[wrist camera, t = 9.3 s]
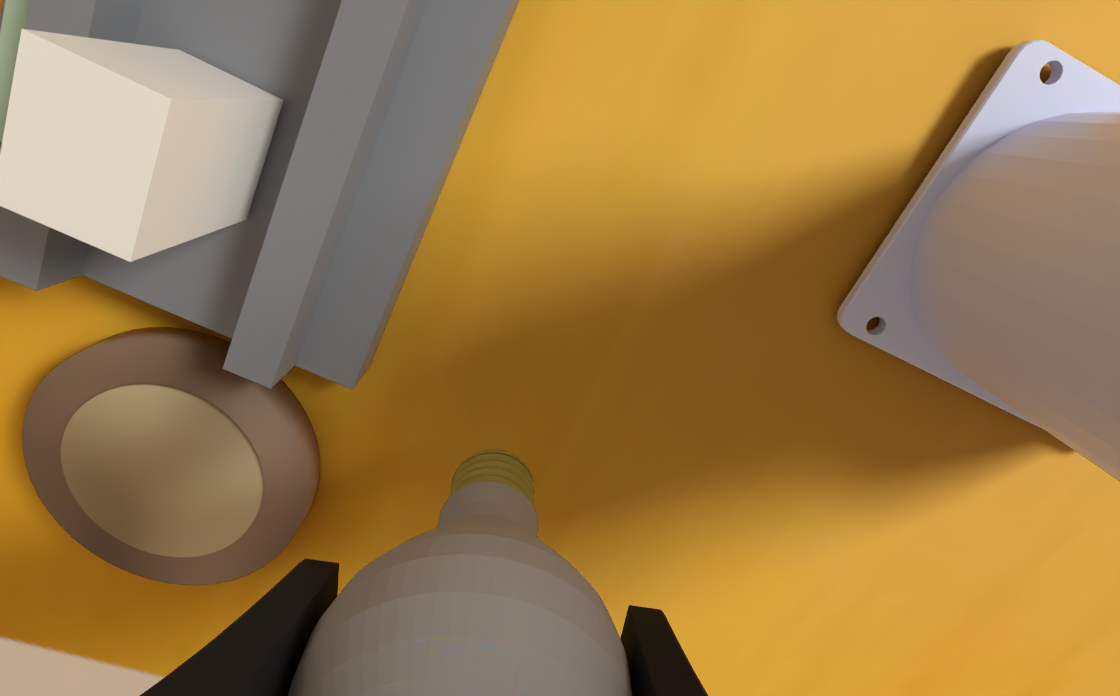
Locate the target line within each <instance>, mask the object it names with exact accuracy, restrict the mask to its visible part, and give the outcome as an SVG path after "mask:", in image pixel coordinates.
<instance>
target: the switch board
mask: <svg viewBox="0 0 1120 696" xmlns="http://www.w3.org/2000/svg"><path fill="white" fill-rule="evenodd" d="M518 2H519V0H3V4H2V10H1V16H0V152H1V146H2V140H3V134H4V128H5V123H6V117H7V111H8V105H9V99H10V93H11V88H12V82H13V76H14V70H15V64H16V58H17V53H18V47H19V41H20V35H21V29H28V30H36V31H43V32H50V33H58V34H65V35H73V36H80V37H88V38H95V39H102V40H110V41H117V42H125V43H132V44H140V45H147V46H154V47H162V48H169V49H177V50H181V51H183V52H185V53H187V54H189V55H191V56H193V57H195V58H198V59H200V60H202V61H204V62H206V63H208V64H210V65H212V66H214V67H216V68H218V69H220V70H222V71H224V72H226V73H229V74H231V75H233V76H235V77H237V78H239V79H241V80H243V81H245V82H247V83H249V84H251V85H253V86H255V87H258V88H260V89H262V90H264V91H266V92H268V93H270V94H272V95H274V96H276V97H278V98H280V99H282V100H284V101H283V104H282V107H281V110H280V113H279V117H278V120H277V123H276V126H275V130H274V133H273V136H272V139H271V142H270V146H269V149H268V152H267V155H266V158H265V162H264V165H263V168H262V171H261V175H260V178H259V181H258V184H257V187H256V191H255V194H254V197H253V200H252V204H251V207H250V210H249V213H248V216H247V220H244V221H241V222H238V223H236V224H233V225H230V226H228V227H225V228H222V229H219V230H217V231H214V232H211V233H208V234H206V235H203V236H200V237H197V238H195V239H192V240H189V241H187V242H184V243H181V244H178V245H176V246H173V247H170V248H167V249H165V250H162V251H159V252H156V253H154V254H151V255H148V256H146V257H143V258H140V259H137V260H135V261H132V262H129V261H127V260H124V259H122V258H120V257H117V256H115V255H113V254H110V253H108V252H106V251H104V250H101V249H99V248H97V247H94V246H92V245H90V244H87V243H85V242H83V241H80V240H78V239H76V238H73V237H71V236H69V235H66V234H64V233H62V232H59V231H57V230H55V229H53V228H50V227H48V226H46V225H43V224H41V223H39V222H36V221H34V220H32V219H29V218H27V217H25V216H22V215H20V214H18V213H15V212H13V211H11V210H8V209H6V208H4V207H2V206H0V276H1V277H4V278H6V279H9V280H11V281H13V282H16V283H18V284H21V285H23V286H25V287H28V288H30V289H33V290H35V291H38V290H41V289H43V288H46V287H49V286H52V285H55V284H57V283H60V282H63V281H66V280H69V279H71V278H74V277H77V276H80V275H83V276H85V277H88V278H90V279H92V280H95V281H97V282H99V283H102V284H104V285H106V286H109V287H111V288H114V289H116V290H118V291H121V292H123V293H125V294H128V295H130V296H132V297H135V298H137V299H139V300H142V301H144V302H147V303H149V304H151V305H154V306H156V307H158V308H161V309H163V310H165V311H168V312H170V313H172V314H175V315H177V316H180V317H182V318H184V319H187V320H189V321H191V322H194V323H196V324H198V325H201V326H203V327H205V328H208V329H210V330H213V331H215V332H217V333H220V334H222V335H224V336H227V337H229V338H231V339H232V341H231V344H230V347H229V350H228V353H227V356H226V360H225V363H224V366H223V369H225V370H227V371H230V372H232V373H234V374H237V375H239V376H242V377H244V378H246V379H249V380H251V381H254V382H256V383H258V384H261V385H263V386H266V387H268V388H270V389H271V388H272V387H273V386H274V385H275V384H276V383H277V382H278V381H279V380H280V379H281V378H282V377H283V376H284V375H286V374H287V373H288V372H289V371H290V370H291V369H292V368H293V367H294V366H297V367H300V368H302V369H305V370H307V371H309V372H312V373H314V374H316V375H319V376H321V377H323V378H326V379H328V380H330V381H333V382H335V383H338V384H340V385H342V386H345V387H347V388H349V389H353V388H354V387H355V385H356V384H357V383H358V381H359V380H360V379H361V377H362V376H363V375H364V373H365V372H366V371H367V369H368V368H369V365H370V363H371V361H372V358H373V356H374V353H375V351H376V348H377V346H378V343H379V341H380V339H381V336H382V334H383V331H384V329H385V326H386V324H387V322H388V319H389V317H390V314H391V312H392V309H393V307H394V304H395V302H396V300H397V297H398V295H399V292H400V290H401V287H402V285H403V282H404V280H405V278H406V275H407V273H408V270H409V268H410V265H411V263H412V260H413V258H414V256H415V253H416V251H417V248H418V246H419V243H420V241H421V239H422V236H423V234H424V231H425V229H426V226H427V224H428V221H429V219H430V217H431V214H432V212H433V209H434V207H435V204H436V202H437V199H438V197H439V195H440V192H441V190H442V187H443V185H444V182H445V180H446V177H447V175H448V173H449V170H450V168H451V165H452V163H453V160H454V158H455V155H456V153H457V151H458V148H459V146H460V143H461V141H462V138H463V136H464V134H465V131H466V129H467V126H468V124H469V121H470V119H471V116H472V114H473V112H474V109H475V107H476V104H477V102H478V99H479V97H480V94H481V92H482V90H483V87H484V85H485V82H486V80H487V77H488V75H489V72H490V70H491V68H492V65H493V63H494V60H495V58H496V55H497V53H498V51H499V48H500V46H501V43H502V41H503V38H504V36H505V33H506V31H507V29H508V26H509V24H510V21H511V19H512V16H513V14H514V11H515V9H516V7H517V4H518Z"/></svg>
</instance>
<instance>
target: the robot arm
mask: <svg viewBox="0 0 1120 696" xmlns="http://www.w3.org/2000/svg"><path fill="white" fill-rule="evenodd" d="M1046 63H1048V64H1049V65H1050V66H1051V74H1050V77H1049V79H1048V80H1047V81H1046V82H1045V83H1042V81H1041V80H1040V71H1041V69H1042V67H1043V66H1044V65H1045V64H1046ZM874 317H879V320H880V321H879V324H878V326H877V327H876V328H875V329H873V330H870V331H868V330H867V329H866V325H867V323H868V321H869V320H870V319H872V318H874ZM837 321H838V323H839V325H840V327H842V328H843V329H844V330H845V331H847V332H848V333H849V334H851V335H853V336H855V337H857V338H859V339H861V340H863V341H865V342H867V343H869V344H871V345H873V346H875V347H877V348H879V349H881V350H883V351H885V352H887V353H889V354H892V355H894V356H896V357H898V358H900V359H902V360H904V361H906V362H908V363H910V364H912V365H914V366H916V367H918V368H920V369H922V370H924V371H926V372H928V373H930V374H932V375H934V376H936V377H938V378H940V379H942V380H944V381H946V382H948V383H950V384H952V385H954V386H956V387H958V388H960V389H962V390H964V391H966V392H968V393H971V394H973V395H975V396H977V397H979V398H981V399H983V400H985V401H987V402H989V403H991V404H993V405H995V406H997V407H999V408H1001V409H1003V410H1005V411H1007V412H1009V413H1011V414H1013V415H1015V416H1017V417H1019V418H1021V419H1023V420H1025V421H1027V422H1029V423H1031V424H1033V425H1035V426H1037V427H1039V428H1041V429H1043V430H1045V431H1047V432H1048V433H1050V434H1051V435H1053V436H1054V437H1056V438H1057V439H1058V440H1060V441H1061V442H1063V443H1064V444H1066V445H1067V446H1069V447H1070V448H1072V449H1073V450H1074V451H1076V452H1077V453H1079V454H1080V455H1082V456H1083V457H1085V458H1086V459H1088V460H1089V461H1090V462H1092V463H1093V464H1095V465H1096V466H1098V467H1099V468H1101V469H1102V470H1104V471H1105V472H1106V473H1108V474H1109V475H1111V476H1112V477H1114V478H1115V479H1117V480H1118V481H1120V85H1118V84H1117V83H1115V82H1114V81H1112V80H1110V79H1109V78H1107V77H1105V76H1104V75H1102V74H1100V73H1099V72H1097V71H1095V70H1094V69H1092V68H1090V67H1089V66H1087V65H1085V64H1084V63H1082V62H1080V61H1079V60H1077V59H1075V58H1074V57H1072V56H1070V55H1069V54H1067V53H1065V52H1064V51H1062V50H1060V49H1059V48H1057V47H1055V46H1054V45H1052V44H1050V43H1049V42H1047V41H1043V40H1040V39H1039V40H1031V41H1025V42H1021V43H1020V44H1018V45H1016V46H1014V47H1013V48H1012V50H1011V51H1010V52H1009V53H1008V54H1007V56H1006V57H1005V59H1004V60H1003V62H1002V63H1001V65H1000V66H999V68H998V69H997V71H996V72H995V74H994V75H993V77H992V78H991V80H990V81H989V83H988V84H987V86H986V87H985V89H984V90H983V92H982V93H981V95H980V96H979V98H978V99H977V101H976V102H975V104H974V105H973V107H972V108H971V110H970V111H969V113H968V114H967V116H966V117H965V119H964V120H963V122H962V123H961V125H960V126H959V128H958V130H957V131H956V133H955V134H954V136H953V137H952V139H951V140H950V142H949V143H948V145H947V146H946V148H945V149H944V151H943V152H942V154H941V155H940V157H939V158H938V160H937V161H936V163H935V164H934V166H933V167H932V169H931V170H930V172H929V173H928V175H927V176H926V178H925V179H924V181H923V182H922V184H921V185H920V187H919V188H918V190H917V191H916V193H915V194H914V196H913V197H912V199H911V200H910V202H909V203H908V205H907V206H906V208H905V209H904V211H903V212H902V214H901V215H900V217H899V218H898V220H897V222H896V223H895V225H894V226H893V228H892V229H891V231H890V232H889V234H888V235H887V237H886V238H885V240H884V241H883V243H882V244H881V246H880V247H879V249H878V250H877V252H876V253H875V255H874V256H873V258H872V259H871V261H870V262H869V264H868V265H867V267H866V268H865V270H864V271H863V273H862V274H861V276H860V277H859V279H858V280H857V282H856V283H855V285H854V286H853V288H852V289H851V291H850V292H849V294H848V295H847V297H846V298H845V300H844V301H843V303H842V304H841V306H840V308H839V310H838V313H837ZM338 572H339V563H332V562H325V561H319V560H312V559H305V560H303V561H302V562H300V563H299V564H298V565H297V566H296V567H295V568H293V569H292V570H291V571H290V572H289V573H288V574H287V575H286V576H285V577H284V578H283V579H282V580H281V581H280V582H279V583H277V584H276V585H275V586H274V587H273V588H272V589H271V590H270V591H269V592H268V593H267V594H265V595H264V596H263V597H262V598H261V599H260V600H259V601H258V602H256V603H255V604H254V605H253V606H252V607H251V608H250V609H249V610H248V611H246V612H245V613H244V614H243V615H242V616H240V617H239V618H238V619H237V620H236V621H235V622H233V623H232V624H231V625H230V626H229V627H228V628H226V629H225V630H224V631H223V632H222V633H220V634H219V635H218V636H217V637H216V638H215V639H213V640H212V641H211V642H210V643H208V644H207V645H206V646H205V647H203V648H202V649H201V650H200V651H198V652H197V653H196V654H194V655H193V656H192V657H191V658H189V659H188V660H187V661H185V662H184V663H183V664H182V665H180V666H179V667H178V668H176V669H175V670H174V671H173V672H171V673H170V674H169V675H167V676H166V677H165V678H163V679H162V680H161V681H159V682H158V683H157V684H155V685H154V686H153V687H151V688H150V689H149V690H147V691H146V692H144V693H143V694H141V695H140V696H287V695H288V692H289V689H290V685H291V682H292V680H293V677H294V675H295V672H296V670H297V667H298V665H299V662H300V660H301V657H302V654H303V652H304V649H305V647H306V644H307V642H308V640H309V637H310V635H311V633H312V631H313V629H314V627H315V626H316V624H317V622H318V621H319V619H320V618H321V616H322V615H323V614H324V613H325V611H326V610H327V609H328V608H329V606H330V605H331V604H332V603H333V601H334V600H335V599H336V598H337V590H338ZM621 642H622V644H623V647H624V649H625V652H626V656H627V660H628V664H629V672H630V680H631V689H632V696H708V694H707V693H706V691H705V689H704V688H703V686H702V684H701V682H700V681H699V679H698V677H697V675H696V674H695V672H694V670H693V668H692V666H691V664H690V663H689V661H688V659H687V657H686V655H685V653H684V651H683V650H682V648H681V646H680V644H679V642H678V640H677V638H676V636H675V634H674V632H673V630H672V628H671V626H670V624H669V622H668V620H667V618H666V616H665V615H664V613H663V612H662V611H661V610H659V609H652V608H645V607H638V606H631V605H629V607H628V611H627V615H626V619H625V623H624V627H623V631H622V635H621Z"/></svg>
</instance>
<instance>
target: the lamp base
mask: <svg viewBox="0 0 1120 696" xmlns="http://www.w3.org/2000/svg"><path fill="white" fill-rule="evenodd" d="M229 347H230V343H228V342H226V341H224V340H221V339H218V338H215V337H213V336H210V335H207V334H203V333H199V332H195V331H191V330H186V329H177V328H169V327H155V328H143V329H135V330H130V331H127V332H123V333H119V334H116V335H114V336H111V337H109V338H107V339H105V340H102V341H100V342H98V343H96V344H94V345H92V346H91V347H89V348H87V349H85V350H83V351H81V352H79V353H77V354H75V355H73V356H71V357H69V358H68V359H66V360H65V361H63V362H62V363H60V364H59V365H57V366H56V367H55V368H54V369H53V370H52V371H51V372H50V373H48V374H47V375H46V376H45V377H44V379H43V380H42V381H41V383H40V384H39V385H38V387H37V388H36V389H35V391H34V393H33V395H32V397H31V399H30V401H29V403H28V407H27V410H26V413H25V416H24V423H23V431H22V442H23V453H24V458H25V463H26V467H27V470H28V473H29V476H30V479H31V481H32V484H33V486H34V488H35V490H36V492H37V494H38V496H39V497H40V499H41V501H42V502H43V504H44V505H45V507H46V508H47V510H48V511H49V512H50V514H51V515H52V516H53V517H54V519H55V520H56V521H57V522H58V523H59V525H60V526H61V527H62V528H63V529H64V530H65V531H66V532H67V533H68V534H69V535H70V536H71V537H72V538H74V539H75V540H76V541H77V542H79V543H80V544H81V545H82V546H84V547H85V548H86V549H88V550H89V551H91V552H92V553H94V554H95V555H97V556H98V557H100V558H101V559H103V560H105V561H107V562H109V563H110V564H112V565H114V566H116V567H118V568H120V569H123V570H125V571H128V572H130V573H132V574H135V575H138V576H141V577H145V578H148V579H151V580H156V581H160V582H165V583H171V584H181V585H207V584H217V583H222V582H226V581H231V580H235V579H238V578H240V577H243V576H246V575H249V574H251V573H252V572H254V571H256V570H258V569H260V568H262V567H263V566H265V565H266V564H268V563H269V562H270V561H272V560H273V559H274V558H275V557H276V556H277V555H278V554H279V553H280V552H281V551H282V550H283V549H284V548H285V547H286V546H287V544H288V543H289V542H290V540H291V539H292V537H293V536H294V534H295V533H296V531H297V530H298V528H299V526H300V525H301V523H302V522H303V520H304V518H305V517H306V515H307V514H308V512H309V510H310V508H311V506H312V504H313V502H314V499H315V496H316V493H317V490H318V485H319V479H320V455H319V449H318V443H317V440H316V436H315V433H314V430H313V427H312V425H311V423H310V421H309V418H308V416H307V414H306V412H305V411H304V409H303V407H302V406H301V404H300V403H299V401H298V399H297V398H296V397H295V395H294V394H293V393H292V392H291V390H290V389H289V388H288V387H287V385H286V384H285V383H284V382H283V381H282V380H281V379H280V380H279V381H278V382H277V383H276V384H275V385H274V386H273V387H272V388H271V389H270V388H268V387H266V386H263V385H261V384H258V383H256V382H254V381H251V380H249V379H246V378H244V377H242V376H239V375H237V374H234V373H232V372H230V371H227V370H225V369H223V366H224V363H225V360H226V356H227V353H228V350H229Z"/></svg>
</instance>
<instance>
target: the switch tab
mask: <svg viewBox="0 0 1120 696" xmlns="http://www.w3.org/2000/svg"><path fill="white" fill-rule="evenodd" d="M283 101H284V100H282V99H280V98H278V97H276V96H274V95H272V94H270V93H268V92H266V91H264V90H262V89H260V88H258V87H255V86H253V85H251V84H249V83H247V82H245V81H243V80H241V79H239V78H237V77H235V76H233V75H231V74H229V73H226V72H224V71H222V70H220V69H218V68H216V67H214V66H212V65H210V64H208V63H206V62H204V61H202V60H200V59H198V58H195V57H193V56H191V55H189V54H187V53H185V52H183V51H181V50H177V49H169V48H162V47H154V46H147V45H140V44H132V43H125V42H117V41H110V40H102V39H95V38H88V37H80V36H73V35H65V34H58V33H50V32H43V31H36V30H28V29H21V35H20V41H19V47H18V53H17V58H16V64H15V70H14V76H13V82H12V88H11V93H10V99H9V105H8V111H7V117H6V123H5V128H4V134H3V140H2V146H1V152H0V206H2V207H4V208H6V209H8V210H11V211H13V212H15V213H18V214H20V215H22V216H25V217H27V218H29V219H32V220H34V221H36V222H39V223H41V224H43V225H46V226H48V227H50V228H53V229H55V230H57V231H59V232H62V233H64V234H66V235H69V236H71V237H73V238H76V239H78V240H80V241H83V242H85V243H87V244H90V245H92V246H94V247H97V248H99V249H101V250H104V251H106V252H108V253H110V254H113V255H115V256H117V257H120V258H122V259H124V260H127V261H129V262H132V261H135V260H137V259H140V258H143V257H146V256H148V255H151V254H154V253H156V252H159V251H162V250H165V249H167V248H170V247H173V246H176V245H178V244H181V243H184V242H187V241H189V240H192V239H195V238H197V237H200V236H203V235H206V234H208V233H211V232H214V231H217V230H219V229H222V228H225V227H228V226H230V225H233V224H236V223H238V222H241V221H244V220H247V216H248V213H249V210H250V207H251V204H252V200H253V197H254V194H255V191H256V187H257V184H258V181H259V178H260V175H261V171H262V168H263V165H264V162H265V158H266V155H267V152H268V149H269V146H270V142H271V139H272V136H273V133H274V130H275V126H276V123H277V120H278V117H279V113H280V110H281V107H282V104H283Z"/></svg>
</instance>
